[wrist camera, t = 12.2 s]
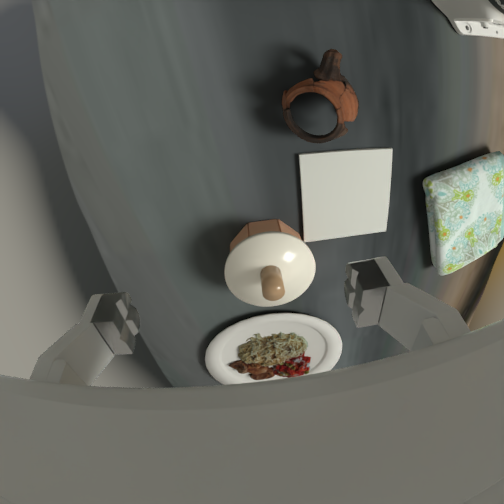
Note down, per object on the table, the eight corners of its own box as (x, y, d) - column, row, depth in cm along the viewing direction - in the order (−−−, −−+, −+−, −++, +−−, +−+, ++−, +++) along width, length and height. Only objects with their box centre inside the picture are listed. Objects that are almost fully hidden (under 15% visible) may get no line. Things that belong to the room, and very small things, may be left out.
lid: (313, 225, 40) (322, 245, 36) (314, 296, 47) (320, 318, 43) (216, 238, 40) (214, 260, 36) (232, 307, 47) (233, 330, 43)
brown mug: (356, 131, 38) (347, 158, 33) (292, 117, 40) (272, 140, 36) (367, 51, 29) (362, 61, 24) (294, 39, 31) (272, 48, 26)
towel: (429, 268, 53) (441, 284, 49) (418, 174, 42) (435, 187, 37) (492, 234, 49) (505, 248, 45) (491, 144, 38) (509, 154, 34)
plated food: (222, 294, 53) (222, 307, 50) (364, 317, 59) (369, 329, 56) (195, 379, 69) (194, 391, 66) (306, 390, 75) (308, 401, 72)
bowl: (298, 216, 44) (305, 233, 40) (301, 272, 51) (306, 292, 46) (226, 225, 45) (225, 244, 41) (237, 281, 51) (238, 301, 47)
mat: (390, 147, 39) (392, 148, 38) (384, 229, 47) (386, 231, 46) (298, 153, 39) (299, 155, 38) (303, 240, 47) (304, 242, 46)
